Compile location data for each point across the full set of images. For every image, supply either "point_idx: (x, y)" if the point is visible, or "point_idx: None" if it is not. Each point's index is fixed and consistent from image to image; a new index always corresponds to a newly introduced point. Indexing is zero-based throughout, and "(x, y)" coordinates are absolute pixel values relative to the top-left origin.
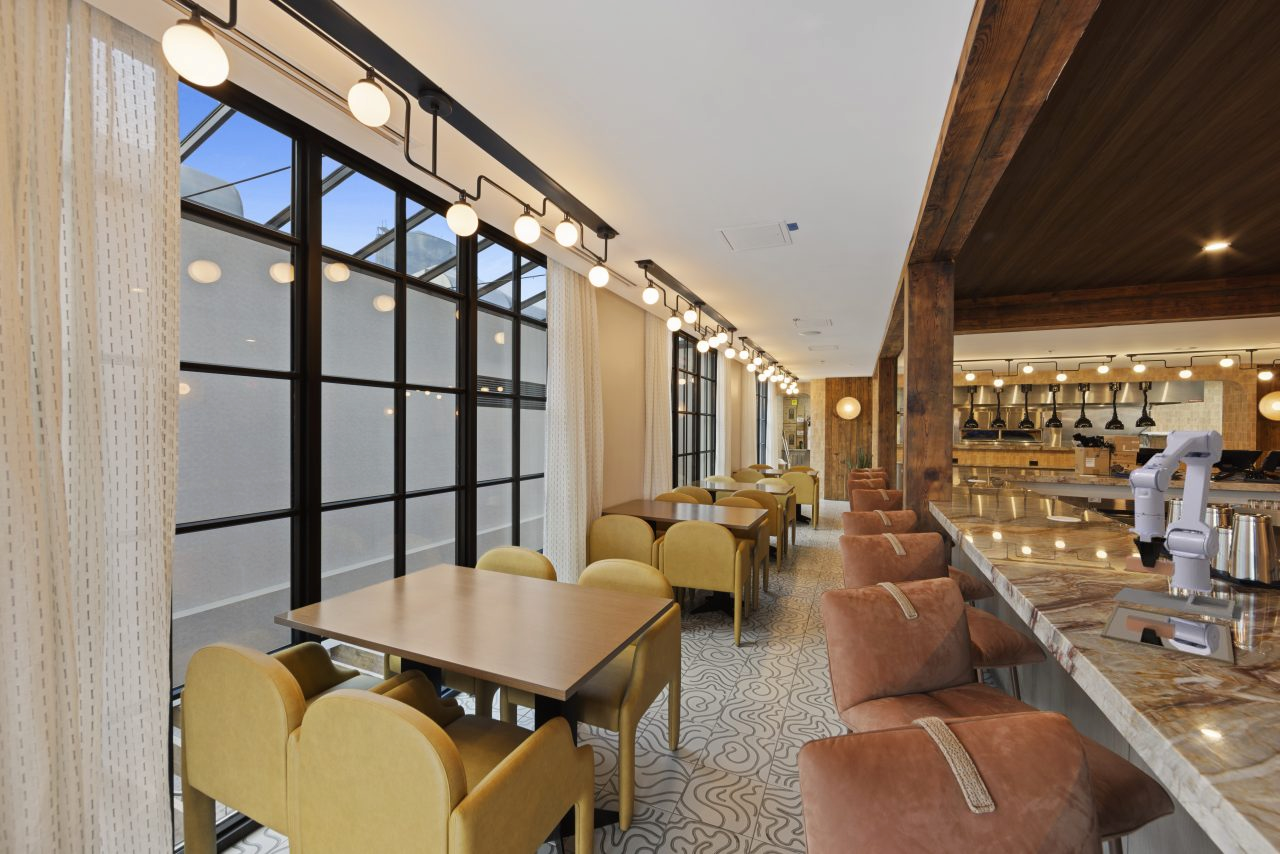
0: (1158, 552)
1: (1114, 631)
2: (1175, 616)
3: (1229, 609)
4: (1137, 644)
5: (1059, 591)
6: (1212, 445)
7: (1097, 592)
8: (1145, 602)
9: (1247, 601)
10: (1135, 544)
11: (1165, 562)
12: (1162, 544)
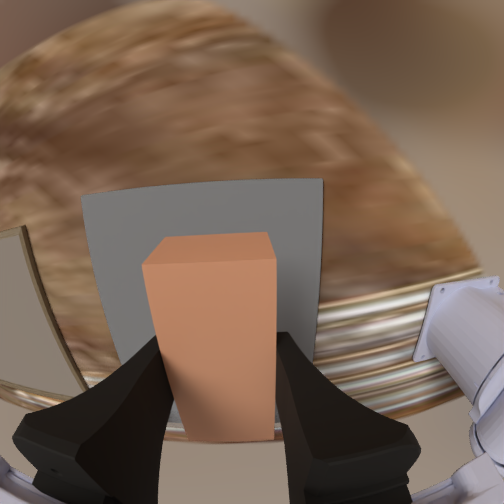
0: (284, 436)
1: None
2: (57, 340)
3: (175, 424)
4: None
5: (68, 55)
6: None
7: (149, 124)
8: (121, 276)
9: (380, 407)
10: (42, 410)
11: (210, 424)
12: (289, 497)
